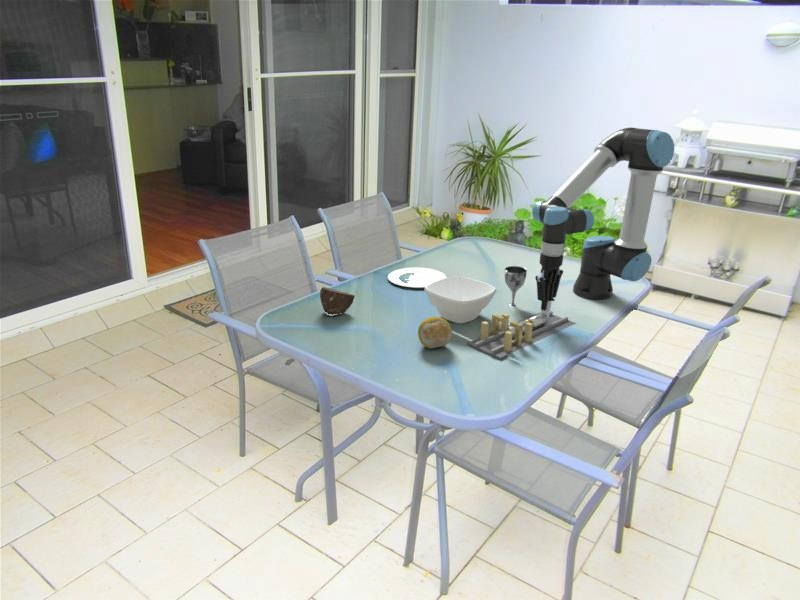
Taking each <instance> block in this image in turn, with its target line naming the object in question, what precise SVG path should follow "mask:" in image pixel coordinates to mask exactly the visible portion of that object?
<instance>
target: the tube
mask: <svg viewBox="0 0 800 600" xmlns="http://www.w3.org/2000/svg"><path fill="white" fill-rule="evenodd" d="M528 322H529V323H532V324H533V328H532V330H534V329H536V328H538V327H540V326H543V325H545V324H547V323H548V317H547V315H546V314H544V313H542V314H539V315H537V316H534V317H532V318H529V319H527V320H525V321H522V322H520V324H522V325H523V333H522V334H524V333H525V323H528ZM506 331H510V332H512V333H513V334H512V339H513V338H514V337H515V327H512V326H510V327H508V328H507V329H506Z"/></svg>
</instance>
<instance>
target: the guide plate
mask: <svg viewBox="0 0 800 600" xmlns="http://www.w3.org/2000/svg"><path fill="white" fill-rule="evenodd" d="M539 314H541V311H540V312H538V313H535V314H533V315H531V316H528V317H526V318H523V319H521V320H519V321H516V322H517V323H520V322H522V321H525V320H527V319H529V318H532V317H534V316H537V315H539ZM501 316H502V317H505V320H504V321H503V322H500V323H501V324H500V328H499V329H498V334H495V335H493V336H491V332H489V326H490V322H488V321H486V320H485V321H482V322H481V325H480V337H477V338H475V339H473V340H470V341H468V342H467V343H466V344H467V346H469V347H471V348H473V349H475V350H478V351H480V352H482V353H484V354H486V355H488V356H490V357H493V358H495V359H497V360H499V361H502V360H504V359H506V358H509V357H510V354H512V353H514V352H517V351H519V350H521V349H523V348H525V347H528V346H530V345H532V344H534V343H536V342H539V341H540V340H542V339H545V338H548V337H550V336H552V335H553V334H555V333H558V332H560V331H562V330H565V329H566V328H568V327H571V326H572V325H575V324H576V322H574V321H571V320H569V316H565V317H563V318H562V317H560V316H558V315H555V314H554V311H552V310H550V315H549V319H548V323H547V324H545V325H543V326H540V327H538V328H536V329H534V330H532V328H533V324H532V323H529V322H528V323H525V333H524V334H522V343H521V346H519V347H517V346H515V345H514V338H513V339H512V334H513V333H512V332H510V331H506V329H507V328H508V327H510V322H509V321H510V314H509V313H506V312H504V313H502V314H501Z"/></svg>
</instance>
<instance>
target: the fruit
mask: <svg viewBox="0 0 800 600" xmlns="http://www.w3.org/2000/svg"><path fill="white" fill-rule="evenodd" d="M417 330H418V331H417V336H418V339H419V342H420V343H421V344H422V346H424V347H425V348H427V349H435V348H440V347H444V346H446V345H448V344H449V342H450V341H451V339H452V337H453V330H452V327H451V325H450V323H449V322H448V320H447V319H445V318H443V317H441V316H440V317H439V316H430V317H427V318H425V319H424V320H422V321H421V322H420V324H419V326H418V329H417Z"/></svg>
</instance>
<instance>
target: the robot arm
mask: <svg viewBox="0 0 800 600" xmlns="http://www.w3.org/2000/svg"><path fill="white" fill-rule="evenodd" d="M674 154H675V142H674V139H673V138H672V136H671V135H670V134H669V133H668V132H666V131H663V130H658V129H648V128H647V129H645V128H638V127H637V128H636V127H632V126H631V127H626V128H621V129H619V130H617V131H615V132H613V133H611V134H609V136H607V137H606V138H604V139H603V140H601V142H600V143H598V145H596V147H594V149H593V153H592V155H590V156H589V158H588V159H586V161H584V162H583V163H582V164H581V166H580V167H579V168H577V170H576V171H575V172H574V173H573V174H572V175H571V176H569V178H568V179H566V181H565V182H564V183H563V184H562V185H561V186H560V187H559V188H558V189H557V190H556V191H555V192H554V193H553V194H552V195H551V196H550V197H549V198H548V199H547V200H539V201H537V202H535V204H534V205H533V207H532V210H531V214H532V217H533V220H535V221H536V222H539V223H541V224H543V226H542V235H541V237H542V238H541V245H540V246H541V247H540V248H541V249H540V252H541V253H540V254H539V264H540V265H541V269H540V273H539V275H535V281H536V289H537V290H536V294H537V300H538V301H541V304H540V305H541V306H540V312H541V314H542V313H544V314H546V315H547V317H548V319H549V315H550V311H551V307H552V302H555V298H557V295H558V290H559V286H560V282H561V280H562V279H561V278H562V276H563V274H564V270H562V269H560V268H561V266H563V263H564V262H563V261H564V255H563V254H564V253H565V244H566V238H567V237H566V236H567V235H572V234H578V233H584V232H587V231H589V230H591V229H592V228H593V227H594V224H595V216H594V214H593V212H592V211H591V210H590V209H587V208H580V209H574V208H571V207H572V206H573V205H574V204H575V203H576V202H577V201H578V200H579V199H580V198H581V197H582V196H583V194H585V193H586V192H587V190H589V189H590V187H592V185H594V183H596V181H597V180H598V179H599V178H600V177H601V176H603V174H604V173H606V171H607V170H608V169H609V168H614V167H615V166H616V165H617V164H619V163H620V162H623V161H625V162H628V164H627V169H628V170H629V171H630V173H631V174H630V179H629V183H628V189H627V195H626V200H625V206H624V211H623V217H622V223H621V228H620V233H619V237H618V238H617V239H616V237H614V236H610V235H609V236H606V235H594V236H593V235H592V236H588V237H587V238H585V239H584V241H583V246H582V253H581V259H580V260H581V262H580V270H579V273H578V276H577V277H576V280H575V282H574V284H573V290H572V291H573V293H574V294H575V295H577V296H578V297H581V298H584V299H589V300H606V299H607V300H608V299H609V298H611V297H612V296H613V290H614V289H613V285H612V279H611V276H614V277H617V278H620V279H622V280H623V281H629V282H637V281H639V280H641V279H642V278H644V276H645V275H646V274H647V273H648V271H649V270H650V267H651V265H652V257H651V256H652V255H651V254H649V252H647V251H648V250H647V249H648V245H647V244H646V242H645V237H646V231H647V227H648V222H649V219H650V218H649V217H650V211H651V206H652V202H653V197H654V192H655V188H656V183H657V177H658V175H659V174H661V173H663V169H664V167H667V166H668V165H669V164H670V163H671V161H672V160H673V158H674Z"/></svg>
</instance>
